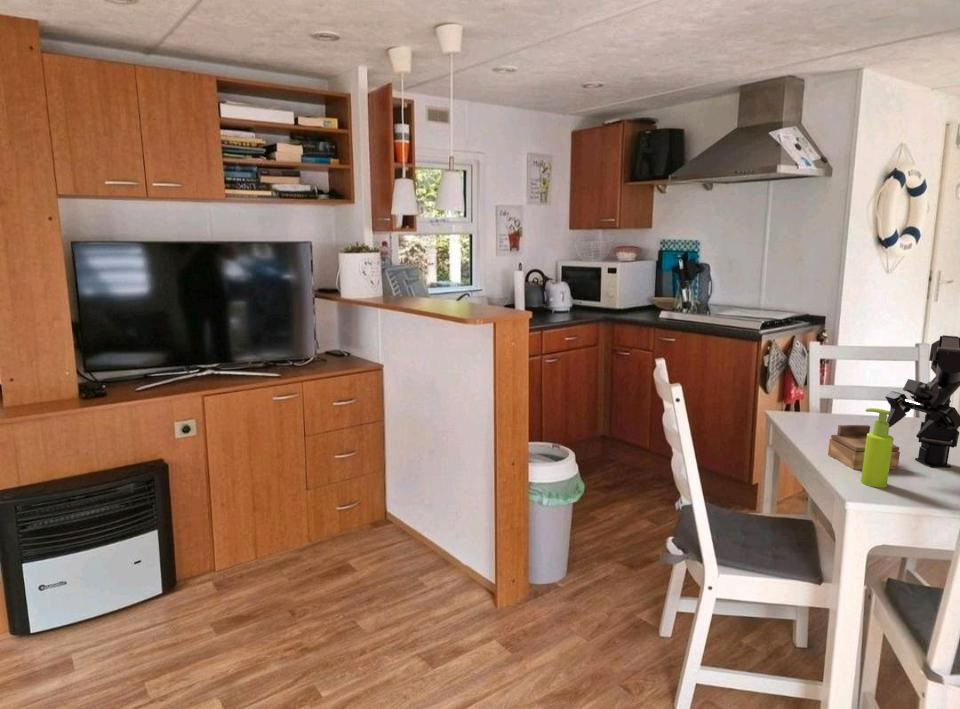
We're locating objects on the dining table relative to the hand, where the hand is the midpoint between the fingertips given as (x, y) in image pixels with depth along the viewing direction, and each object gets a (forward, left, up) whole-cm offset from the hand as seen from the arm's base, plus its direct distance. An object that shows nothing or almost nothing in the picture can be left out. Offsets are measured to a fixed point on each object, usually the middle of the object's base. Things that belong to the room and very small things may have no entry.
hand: (901, 432), depth 170 cm
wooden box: (0, -14, -13) cm, 20 cm away
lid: (0, -14, -8) cm, 16 cm away
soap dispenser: (+8, +2, -14) cm, 16 cm away
